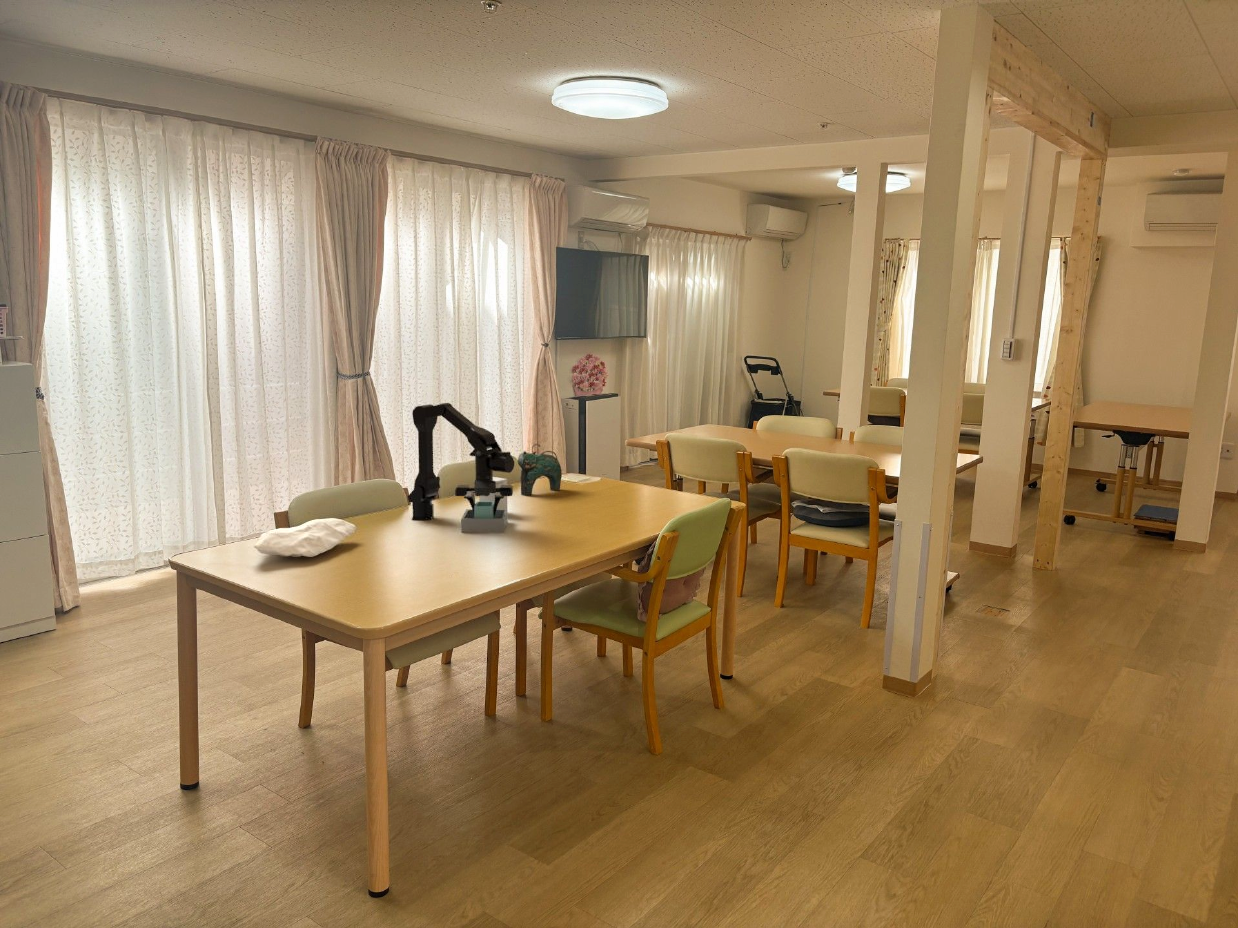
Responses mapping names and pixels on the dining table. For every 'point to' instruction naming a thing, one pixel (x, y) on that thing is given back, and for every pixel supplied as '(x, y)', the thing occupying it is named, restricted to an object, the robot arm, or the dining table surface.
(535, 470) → the ceramic cat
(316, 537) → the crumpled cloth
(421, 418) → the robot arm
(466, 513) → the grey crate
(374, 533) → the dining table surface
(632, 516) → the dining table surface
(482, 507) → the teal crate
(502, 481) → the supplement box
